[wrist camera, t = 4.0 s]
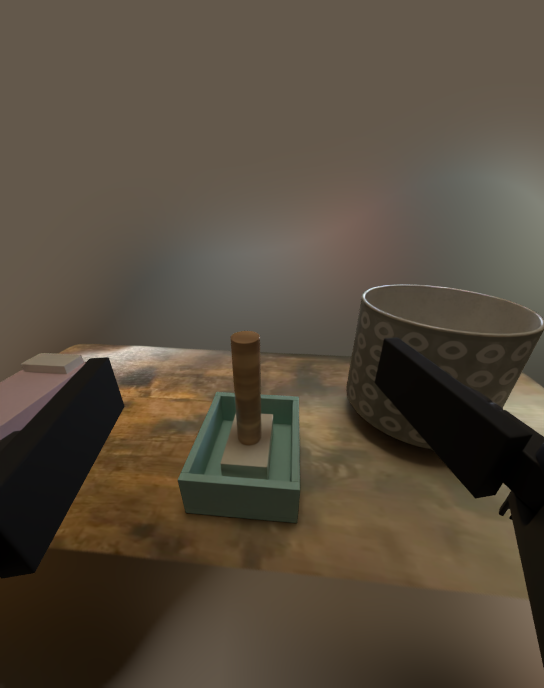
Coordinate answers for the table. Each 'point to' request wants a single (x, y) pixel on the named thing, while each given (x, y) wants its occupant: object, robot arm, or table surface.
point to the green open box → (235, 492)
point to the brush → (248, 414)
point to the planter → (439, 345)
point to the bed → (34, 388)
